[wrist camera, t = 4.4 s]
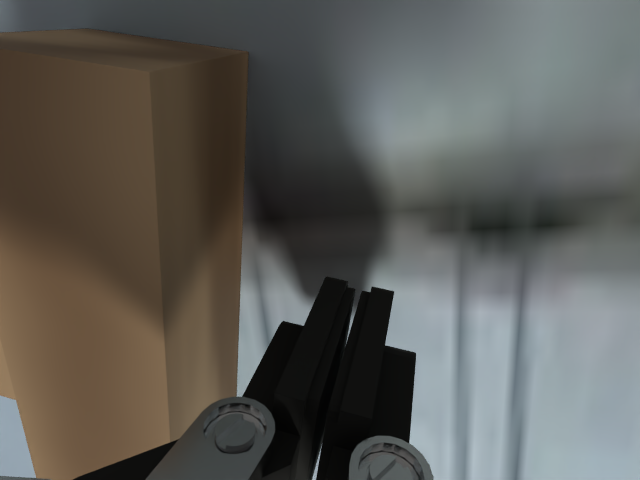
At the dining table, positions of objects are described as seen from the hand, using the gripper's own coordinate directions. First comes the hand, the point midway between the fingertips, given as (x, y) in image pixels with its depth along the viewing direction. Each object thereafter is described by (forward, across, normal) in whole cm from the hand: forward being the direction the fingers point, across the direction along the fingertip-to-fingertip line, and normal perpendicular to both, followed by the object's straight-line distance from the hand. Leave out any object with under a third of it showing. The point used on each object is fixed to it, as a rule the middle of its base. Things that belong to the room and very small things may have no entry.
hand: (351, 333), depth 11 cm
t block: (+1, +9, 0) cm, 9 cm away
